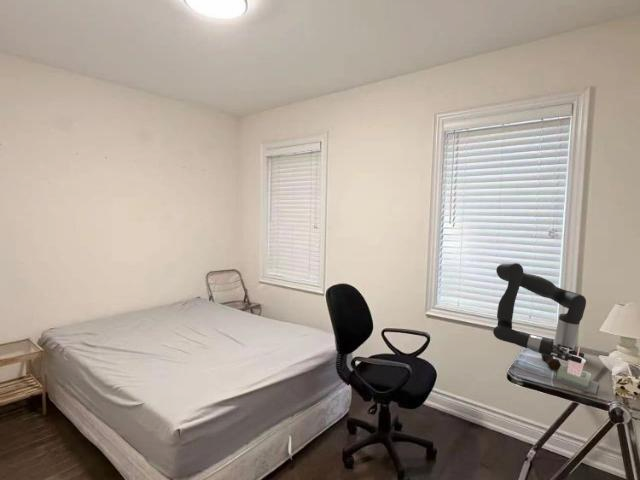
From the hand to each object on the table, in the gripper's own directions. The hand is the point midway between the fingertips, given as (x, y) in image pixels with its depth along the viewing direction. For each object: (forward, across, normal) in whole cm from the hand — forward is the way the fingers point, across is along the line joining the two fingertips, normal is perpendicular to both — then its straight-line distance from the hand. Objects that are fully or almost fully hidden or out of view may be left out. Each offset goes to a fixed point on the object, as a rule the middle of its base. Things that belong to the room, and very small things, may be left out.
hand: (582, 358), depth 150 cm
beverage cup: (-2, 0, +10) cm, 10 cm away
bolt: (-13, +13, +12) cm, 22 cm away
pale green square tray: (0, 0, +11) cm, 11 cm away
